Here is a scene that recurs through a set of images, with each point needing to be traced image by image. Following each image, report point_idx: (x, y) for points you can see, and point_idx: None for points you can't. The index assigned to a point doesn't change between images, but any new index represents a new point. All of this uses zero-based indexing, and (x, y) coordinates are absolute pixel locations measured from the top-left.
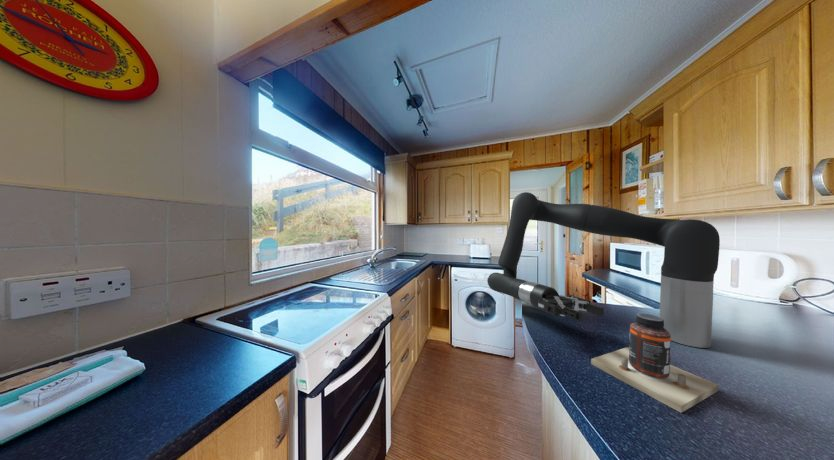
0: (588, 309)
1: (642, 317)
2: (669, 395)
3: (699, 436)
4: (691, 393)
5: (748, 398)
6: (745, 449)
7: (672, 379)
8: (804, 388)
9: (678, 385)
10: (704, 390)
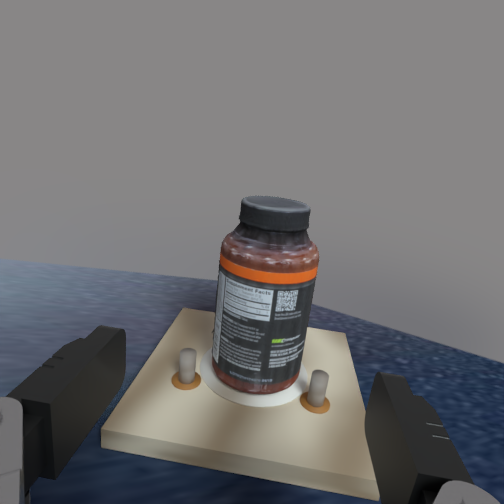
0: (65, 442)
1: (308, 208)
2: (330, 342)
3: (375, 334)
4: None
5: (167, 302)
6: (337, 313)
7: None
8: (43, 270)
9: None
10: None
